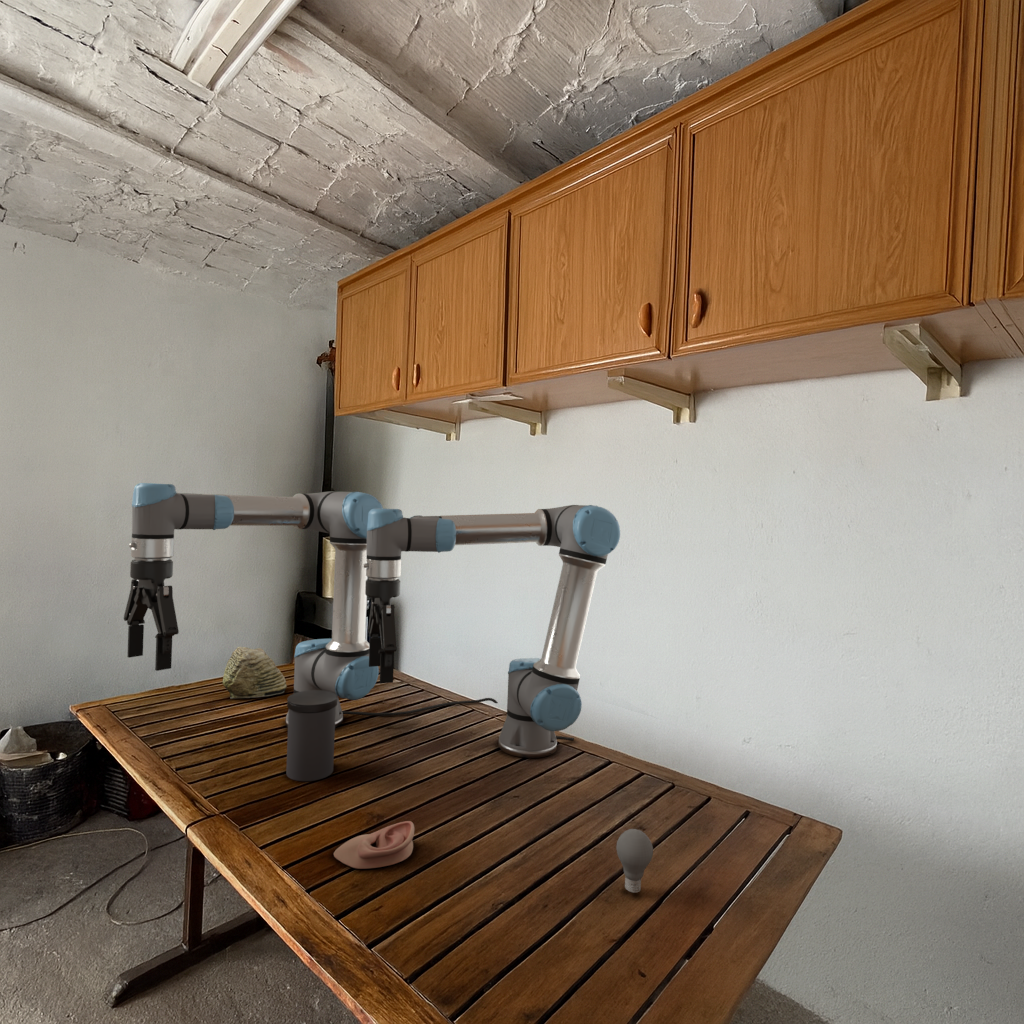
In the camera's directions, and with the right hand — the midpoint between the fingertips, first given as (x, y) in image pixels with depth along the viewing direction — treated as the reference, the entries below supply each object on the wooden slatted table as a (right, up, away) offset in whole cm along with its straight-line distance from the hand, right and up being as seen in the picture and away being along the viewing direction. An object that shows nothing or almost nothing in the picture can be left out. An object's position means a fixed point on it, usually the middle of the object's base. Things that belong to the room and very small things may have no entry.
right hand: (380, 674), depth 140 cm
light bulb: (+49, -28, -34) cm, 66 cm away
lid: (-17, -7, +5) cm, 19 cm away
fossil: (-51, -21, +58) cm, 80 cm away
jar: (-17, -24, +6) cm, 30 cm away
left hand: (-45, +5, -11) cm, 47 cm away
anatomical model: (+4, -25, -26) cm, 37 cm away
